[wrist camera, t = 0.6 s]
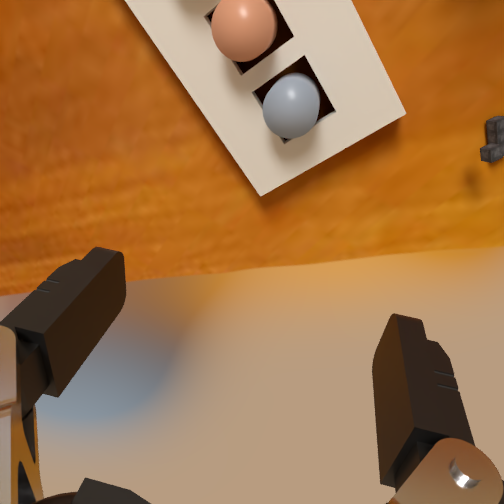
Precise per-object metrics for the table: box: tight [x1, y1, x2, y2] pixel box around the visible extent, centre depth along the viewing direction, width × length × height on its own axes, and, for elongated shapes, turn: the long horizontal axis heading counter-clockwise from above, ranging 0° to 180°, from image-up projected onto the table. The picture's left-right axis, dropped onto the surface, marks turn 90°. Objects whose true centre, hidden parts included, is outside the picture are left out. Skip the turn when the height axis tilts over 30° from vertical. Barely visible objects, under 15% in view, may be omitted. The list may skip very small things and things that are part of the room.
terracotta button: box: [211, 0, 278, 62], centre depth 29 cm, size 4×4×4 cm
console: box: [125, 0, 406, 197], centre depth 31 cm, size 14×24×3 cm, turn 35°
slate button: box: [263, 72, 320, 139], centre depth 32 cm, size 4×4×4 cm
